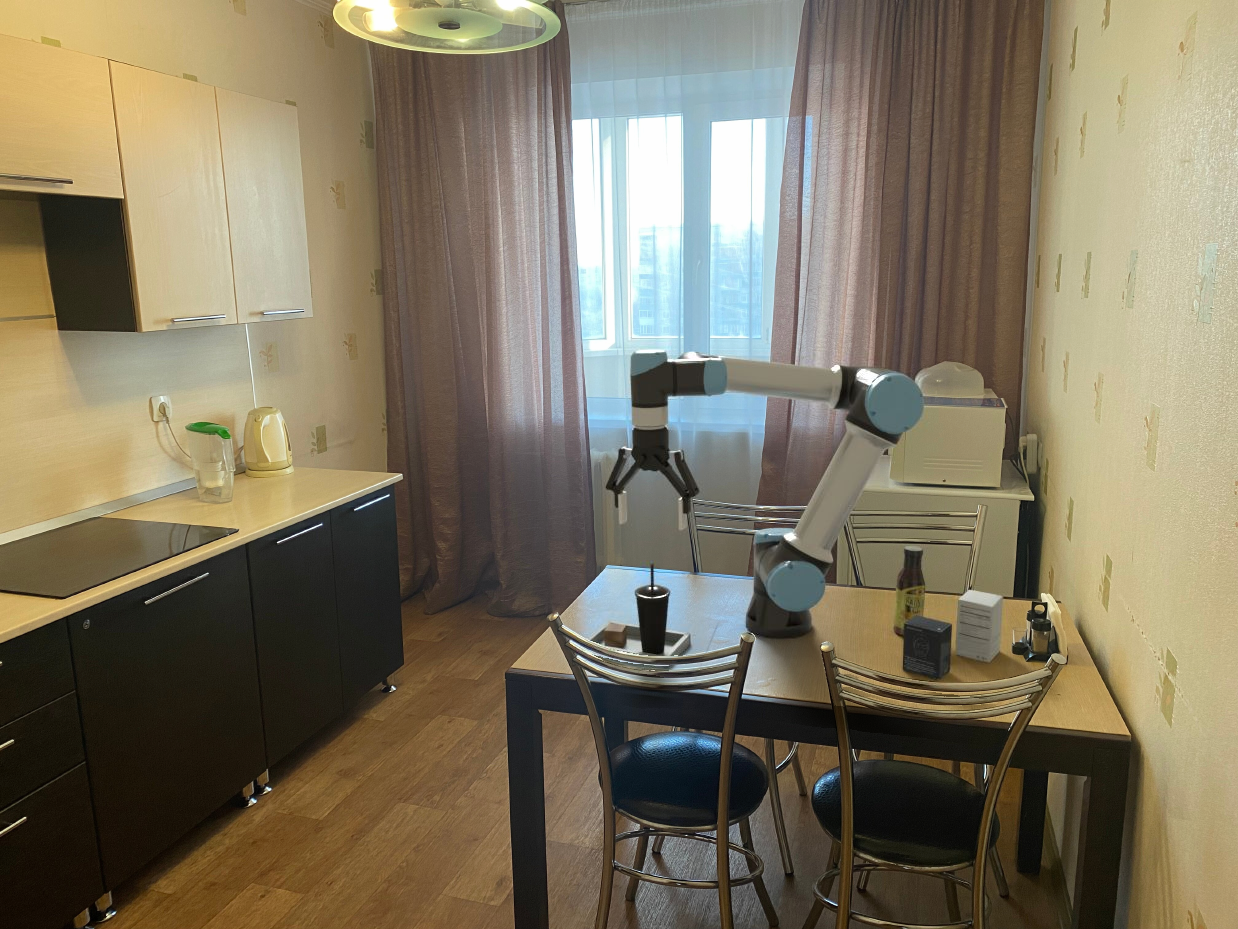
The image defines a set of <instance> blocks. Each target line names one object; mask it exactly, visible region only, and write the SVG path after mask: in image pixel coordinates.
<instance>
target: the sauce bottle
mask: <svg viewBox="0 0 1238 929" xmlns="http://www.w3.org/2000/svg"><path fill="white" fill-rule="evenodd" d="M903 554H904V558H903V567H902V568H901V570H900V571H899V573H898V575H897V578H896V586H895V596H894V597H895V598H894V610H893V631H894V632H895V634H898V635H899V636H904V623H905V622H906V621H908V620H909V619H911V618H912V617H914V616H916V615H918V616H922V617H924V612H925V611H924V610H925V608H924V607H925V599H926V598H925V597H926V587H927V586H926V581H925V578H924V574H923V569H922V562H923V560H922V559H923V556H924V549H923V547H920V546H917V545H916V546H915V545H907V546H904V549H903Z"/></svg>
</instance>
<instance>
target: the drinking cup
mask: <svg viewBox="0 0 1238 929" xmlns="http://www.w3.org/2000/svg"><path fill="white" fill-rule="evenodd" d="M649 565H650V567H649V568H650V584H645V585H643V586H640V587H637V588H636V589H635V590H634V596H635V599H636V607H637V608H636V609H637V616H638V617H637V618H638V625H639V627H640V636H641V645H642V652H644V653H650V654H655V655H659V654H662V653H663V652H664V648H665V636H666V630H667V623H668V611H669V601H670V596H671V590H670V589H669V588H668V587H665V586H664V585H659V584H655V571H654V570H655V569H654V568H655V567H654V566H655V563H654V562H651V563H650V564H649Z"/></svg>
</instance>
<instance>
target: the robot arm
mask: <svg viewBox="0 0 1238 929" xmlns="http://www.w3.org/2000/svg"><path fill="white" fill-rule="evenodd" d="M629 370H630V375H629V377H630V380H629V381H630V397H631V399H630V400H631V425H632V426H633V427H632V429H631V434H632V435H631V441H632V448H629V447H628V446H625V445H624V446H623V447H621V448H619V449H618V454H617V460H616V462H615V464H614V466H613V468H612V471H611V473H610V476H609V478H608V480H607V483H606V485H605V489H606V490H607V491H610V492H612V493H613V494H614V495H613V496H614V506H615V508H616V509H617V508H618V525H623V524H625V523H626V522H629V521H628V496H627V495H628V494H627V491H625V488H626V487H627V485H629V483H630V482H631V480H633V478H634V477H635V476H636V474H637V473H638V472H639V471H640V470H642V471H643V472H644V471H645V472H646V471H651V472H656V473H657V472H658V471H659V472H660V473H661V474H662V475H663V476H665V478H666V479H667V480H668V482H669V483H670V484H671V486H672V487H673V488H674V489H675V490H676V492H677V494H679V496H680V498H678V501H677V502H678V531H683V530H685V529H686V528H687V527H688V515H689V514H690V513H691V510H692V507H691V506H692V504H691V503H692V500H691V499H692V498H695V497H696V496H697V495H698V494H700V488H699V486H698V484H697V483H696V481H695V478H694V476H693V475H692V472H691V470H690V468H689V466H688V463H687V462H686V458H685V452H684V450H683V449H679V450H672V451H671V450H670V447H669V444H670V441H669V440H670V435H669V434H670V433H669V427H668V426H667V425H668V424H669V397H675V398H676V397H696V396H697V397H700V396H706V397H707V396H708V397H712V396H718V395H719V396H720V395H721V396H722V395H724V394H725V393H726V392H729V393H736V394H744V395H752V396H753V395H754V396H762V397H769V398H770V397H771V398H776V399H777V398H778V399H787V400H793V401H794V400H795V401H802V402H803V401H804V402H809V403H810V402H811V403H819V404H826V405H827V407H828V408H829V409H831V410H832V409H833V410H840V411H843V412H848V413H847V415H846V417H845V419H844V423H845V427H846V432H845V434H844V436H843V438H842V440H841V441H840V444H839V446H838V448H837V449H836V451H835V453H834V455H833V457H832V459H831V461H830V463H829V465H828V466H827V468H826V470H825V472H824V474H823V476H822V477H821V480H820V481H819V483H818V485H817V487H816V489H815V490H814V492H813V495H812V497H811V499H810V500H809V502H808V504H807V505H806V507H805V509H804V512H803V513H802V515H801V517H800V518H799V521H798V523H797V525H796V527H795V528H789V527H770V528H763V529H760V530H759V529H758V530H757V531H756V532H755V534H754V537H753V543H752V545H753V593H752V596H751V598H750V602H749V605H748V608H747V611H746V613H745V626H746V628H747V630H749V631H751V632H752V633H754V634H757V635H760V636H762V637H763V636H764V637H767V638H774V639H776V638H777V639H791V638H797V637H800V636H804V635H806V634H807V633H809V632H810V631H811V630H812V627H813V626H812V625H813V618H812V614H811V611H810V609H812V608H813V607H815V606H816V605H818V604H819V603H820V602H821V600H822V598H823V596H824V595H825V592H826V584H827V583H826V579H825V577H826V575H827V574H828V571H829V569H830V568H831V566H832V564H833V562H834V559H833V555H832V549H833V547H834V545H835V543H836V541H837V539H838V537H839V535H840V534H841V532H842V531H843V528H844V526H845V525H846V523H847V521H848V519H849V518H850V515H852V511H853V510H854V508H855V506H856V504H857V503H858V501H859V499H860V497H861V495H862V493H863V491H864V489H865V487H866V486H867V484H868V482H869V481H870V478H871V477H872V475H873V473H874V472H875V469H876V467H877V465H878V464H879V462H880V460H881V458H882V456H883V455H884V452H885V451H886V450H888V449H891V448H894V447H896V446H897V445H898V443H899V442H900V440H901V437H902V436H903V434H904V433H905V432H908V431H909V430H911V429H913V428H914V427H915V426H916V425H917V424H918V423H919V421H920V419H921V418H922V416H923V412H924V410H925V400H924V394H923V392H922V389H921V387H920V386H919V385H918V384H917V383H916V382H915V381H914V380H913V379H912V378H911V377H910V376H908V375H906V374H905V373H901V372H899V371H895V370H892V369H889V368H887V367H883V366H869V365H868V366H866V365H865V366H855V365H854V366H852V365H851V366H850V365H840V364H836V365H834V366H833V367H831V368H827V367H825V368H824V367H820V366H819V367H816V366H809V365H808V366H807V365H800V364H793V363H792V364H791V363H790V364H789V363H782V362H774V361H765V360H755V359H751V358H750V359H748V358H741V357H732V356H731V357H730V356H724V355H713V354H706V353H705V354H704V353H700V352H698V351H692V350H691V351H687V352H684V353H682V354H680V355H679V356H678V357H677V358H676V359H669V357H668V353H667V351H665V350H663V349H642V350H641V349H640V350H637V351H634V352H633V353H632V354H631V355H630V367H629ZM630 457H632V459H633V460H634V462H633V464H632V466H630V468H629V469H628V471H627V472H626V473H625V474H624V475H623V477H622V478H621V480H620V481H619V478H620V477H621V474H622V472H623V470H624V468H625V465H626V463H627V461H628V459H629V458H630ZM670 459H672V461H673V462H674V463H675V466H676V469H677V470H678V473H679V474H680V476H681V478H682V479H681V478H680V476H679V475H678V474H677V473H676V472H675V470H674V468H673V466H672V464H670V462H669V460H670ZM618 481H619V482H618Z"/></svg>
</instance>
